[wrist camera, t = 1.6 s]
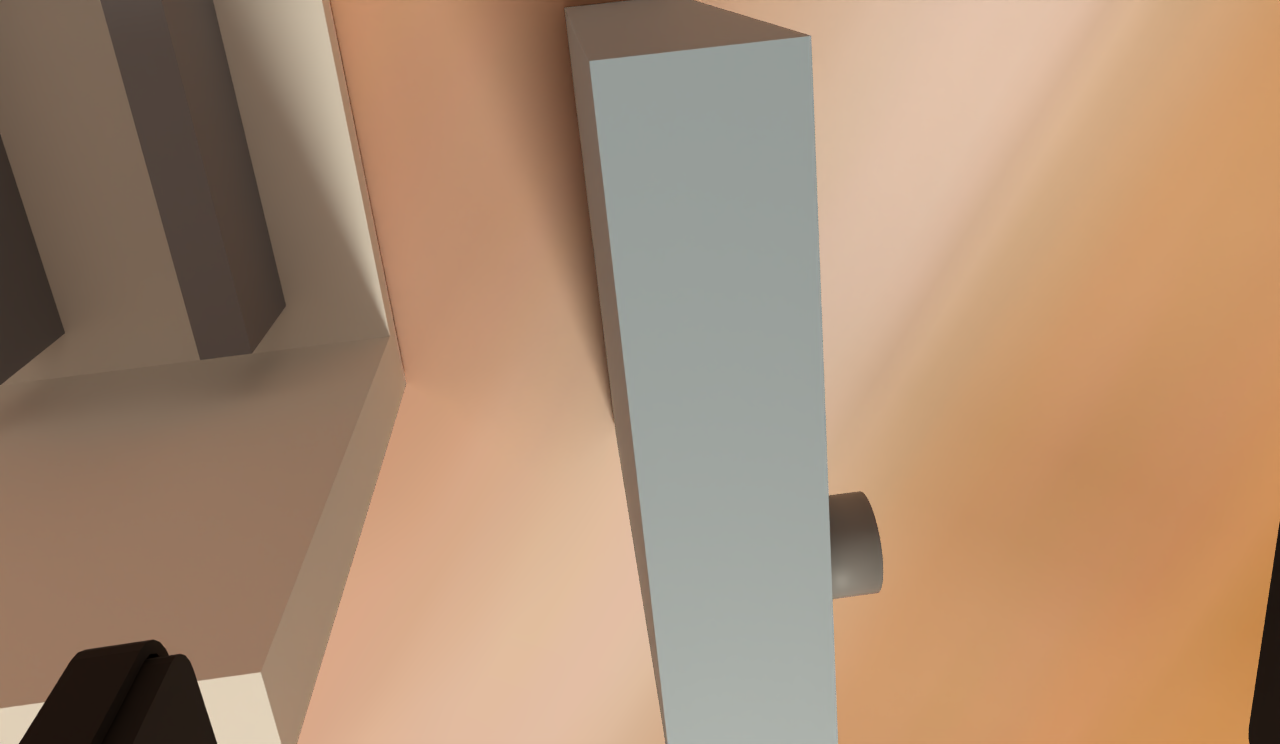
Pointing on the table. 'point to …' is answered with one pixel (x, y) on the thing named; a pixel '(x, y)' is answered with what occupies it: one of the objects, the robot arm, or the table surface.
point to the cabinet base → (184, 347)
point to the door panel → (719, 361)
